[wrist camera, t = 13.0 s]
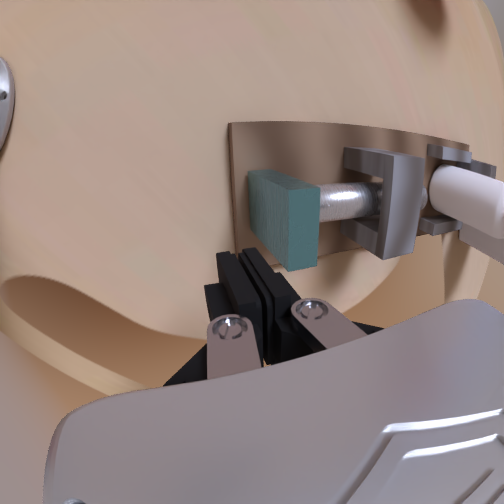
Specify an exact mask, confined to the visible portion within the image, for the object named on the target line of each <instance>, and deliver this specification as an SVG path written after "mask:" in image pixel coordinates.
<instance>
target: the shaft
mask: <svg viewBox="0 0 504 504" xmlns="http://www.w3.org/2000/svg"><path fill="white" fill-rule="evenodd" d="M382 188H383V182H356V183H336V184H319V185H312V184H310V183H307V182H305V181H302V180H299V179H297V178H294V177H291V176H289V175H286V174H283V173H281V172H278V171H275V170H272V169H265V170H252V171H248V191H249V213H250V230H251V231H252V232H253V233H254V234H255V235H256V236H257V238H258V239H259V240H260V241H261V242H262V243H263V244H264V245H265V246H266V248H267V249H268V250H269V251H270V252H271V253H272V254H273V256H274V257H275V258H276V259H277V260H278V261H279V262H280V263H281V265H282V266H283V267H284V268H285V269H286V270H287V271H288V272H290V271H295V270H300V269H305V268H309V267H314V266H317V255H318V238H319V223H320V222H328V221H335V220H343V219H351V218H358V217H366V216H374V215H380V210H381V200H382ZM427 198H428V197H427V191H426V188H425V187H424V185H423V190H422V199H421V206H420V210H421V209H423V208H424V207H425V205H426V203H427Z"/></svg>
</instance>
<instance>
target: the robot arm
mask: <svg viewBox="0 0 504 504" xmlns="http://www.w3.org/2000/svg"><path fill="white" fill-rule="evenodd" d="M14 95H15V89H14V79H13V75H12V72H11V69H10V67H9V65H8V63H7V62H6V61H5V60H4V59H3V58H2V57H0V149H1V147H2V145H3V143H4V141H5V138H6V135H7V133H8V130H9V126H10V122H11V119H12V113H13V107H14ZM216 259H217V268H218V277H219V283H215V284H209V285H204V289H205V296H206V302H207V308H208V313H209V318H210V324H209V325H208V328H207V344H205V345H204V347H202V349H200V350H199V351H198V352H197V353H196V354H195V355H194V356H193V357H192V358H191V359H190V360H189V361H188V362H187V363H186V364H185V365H184V366H183V367H182V368H181V369H180V370H179V371H178V372H177V373H176V374H174V375H173V376H172V378H170V379H169V380H168V381H167V382H166V383H165V384H164V385H163V387H159V388H151V389H145V390H137V391H131V392H126V393H120V394H115V395H111V396H108V397H104V398H101V399H97V400H95V401H93V402H90V403H87V404H85V405H82V406H80V407H78V408H76V409H74V410H73V411H71V412H70V413H68V414H67V415H66V416H65V417H64V418H63V419H62V420H61V421H60V423H59V424H58V425H57V427H56V429H55V431H54V434H53V436H52V440H51V443H50V446H49V450H48V455H47V460H46V467H45V475H44V486H43V504H504V314H502V313H501V312H499V311H498V310H496V309H495V308H494V307H492V306H491V305H489V304H488V303H486V302H484V301H481V300H476V299H463V300H457V301H453V302H449V303H446V304H443V305H441V306H439V307H436V308H434V309H431V310H429V311H426V312H424V313H422V314H419V315H417V316H415V317H412V318H410V319H408V320H406V321H403V322H401V323H398V324H396V325H393V326H391V327H388V328H386V329H384V328H380V327H375V326H371V325H366V324H362V323H357V322H353V321H350V320H349V319H348V318H346V317H345V316H344V315H343V314H341V313H340V312H339V311H338V310H337V309H335V308H334V307H333V306H332V305H330V304H329V303H328V302H326V301H324V300H321V299H317V298H305V299H301V298H300V296H299V295H298V294H297V293H296V291H295V290H294V289H293V288H292V286H291V285H290V284H289V283H288V281H287V280H286V279H285V278H284V276H283V275H282V274H281V273H280V272H277V273H275V272H274V271H273V270H272V268H271V267H270V266H269V264H268V263H267V262H266V260H265V259H264V258H263V256H262V255H261V254H260V252H259V251H258V250H257V249H256V247H252V248H246V249H242V253H238V259H237V257H236V255H235V254H231V253H230V252H229V251H226V252H220V253H216ZM263 358H264V360H265V362H266V364H267V365H269V364H271V366H267V367H264V365H263V364H264V363H263Z"/></svg>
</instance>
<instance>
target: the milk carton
mask: <svg viewBox="0 0 504 504" xmlns="http://www.w3.org/2000/svg"><path fill="white" fill-rule="evenodd" d="M459 240H461V241H463V242H465V243H466V244H468V245H470V246H472V247H474V248H476V249H477V250H479V251H481V252H483V253H485V254H486V255H488V256H490V257H492V258H493V259H495V260H497V261H498V262H500V263H502V264H503V265H504V238H502V239H497V238H494V237H492V236H490V235H488V234H486V233H484V232H482V231H480V230H478V229H476V228H473V227H471V226H469V225H467V224H465V223H463V225H462V229H460V233H459Z"/></svg>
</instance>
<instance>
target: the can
mask: <svg viewBox="0 0 504 504" xmlns="http://www.w3.org/2000/svg"><path fill="white" fill-rule="evenodd" d="M429 200H430V202H431V205H432V207H433V208H434V209H435V210H437V211H439V212H441V213H443V214H445V215H448V216H450V217H452V218H454V219H457V220H459V221H461V222H463V223H465V224H467V225H469V226H471V227H474V228H476V229H478V230H480V231H482V232H484V233H486V234H488V235H490V236H492V237H494V238H497V239H502V238H504V182H502V181H499V180H496V179H493V178H490V177H488V176H485V175H482V174H478V173H475V172H472V171H469V170H465V169H462V168H458V167H455V166H451V165H447V164H442V165H440V166H439V167H437V168H436V169H435V171H434V172H433V174H432V176H431V179H430V183H429Z"/></svg>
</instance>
